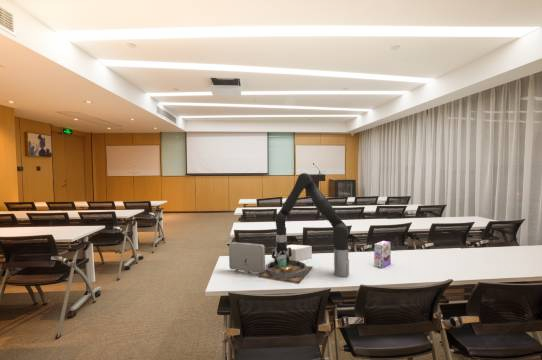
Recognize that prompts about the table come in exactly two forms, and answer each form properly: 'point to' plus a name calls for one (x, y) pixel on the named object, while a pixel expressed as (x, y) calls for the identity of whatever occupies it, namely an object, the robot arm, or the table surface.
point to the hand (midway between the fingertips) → (281, 263)
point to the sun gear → (286, 268)
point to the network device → (247, 258)
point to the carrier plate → (295, 269)
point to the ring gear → (287, 275)
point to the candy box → (382, 254)
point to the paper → (298, 253)
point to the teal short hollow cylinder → (281, 262)
